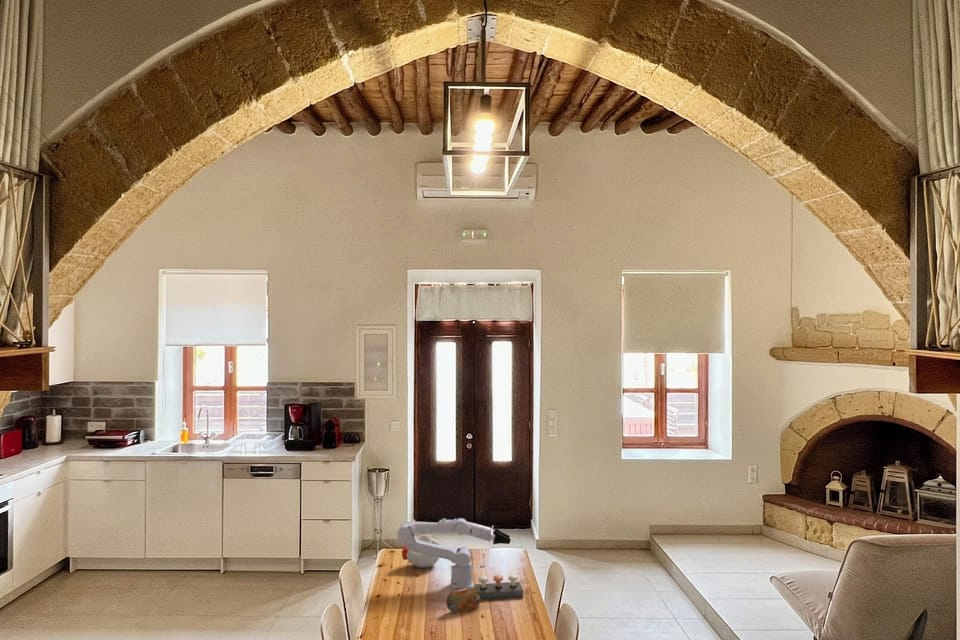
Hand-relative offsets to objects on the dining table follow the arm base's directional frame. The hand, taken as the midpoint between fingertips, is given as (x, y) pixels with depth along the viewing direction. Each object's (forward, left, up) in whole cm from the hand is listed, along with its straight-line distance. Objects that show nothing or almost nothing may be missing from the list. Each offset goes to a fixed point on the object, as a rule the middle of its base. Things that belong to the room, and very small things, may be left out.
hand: (509, 539), depth 294 cm
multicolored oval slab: (-23, -24, -20) cm, 39 cm away
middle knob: (-7, -10, -17) cm, 21 cm away
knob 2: (0, -10, -17) cm, 20 cm away
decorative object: (-40, +30, -20) cm, 54 cm away
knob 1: (-13, -10, -17) cm, 24 cm away
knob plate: (-7, -10, -20) cm, 23 cm away
